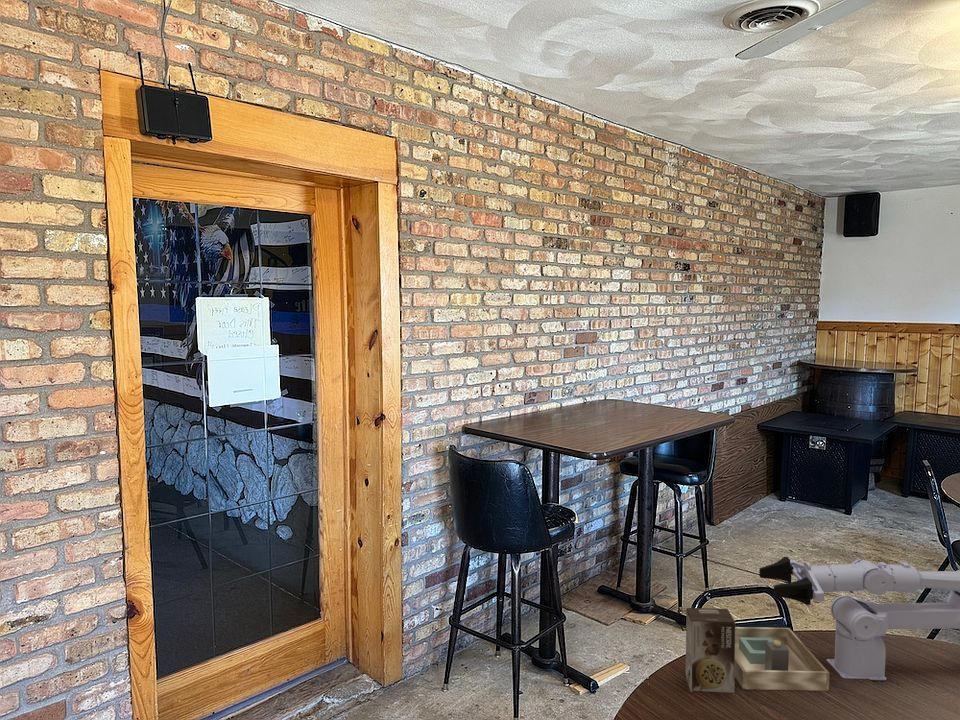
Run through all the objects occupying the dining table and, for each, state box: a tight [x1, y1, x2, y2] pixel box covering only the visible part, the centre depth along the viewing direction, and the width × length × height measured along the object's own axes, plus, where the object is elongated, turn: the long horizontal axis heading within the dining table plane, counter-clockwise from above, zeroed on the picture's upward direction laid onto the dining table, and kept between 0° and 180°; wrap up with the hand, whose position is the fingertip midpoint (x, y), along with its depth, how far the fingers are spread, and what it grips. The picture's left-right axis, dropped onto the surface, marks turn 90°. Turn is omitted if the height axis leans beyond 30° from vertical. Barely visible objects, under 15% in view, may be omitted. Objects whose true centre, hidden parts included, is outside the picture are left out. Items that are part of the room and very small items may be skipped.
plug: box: [765, 640, 789, 671], centre depth 146 cm, size 4×4×8 cm
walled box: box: [735, 626, 830, 692], centre depth 152 cm, size 18×20×4 cm
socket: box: [739, 637, 774, 664], centre depth 156 cm, size 7×7×2 cm
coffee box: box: [685, 607, 736, 694], centre depth 144 cm, size 9×6×16 cm
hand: (766, 581), depth 149 cm, fingers open, 7 cm apart
